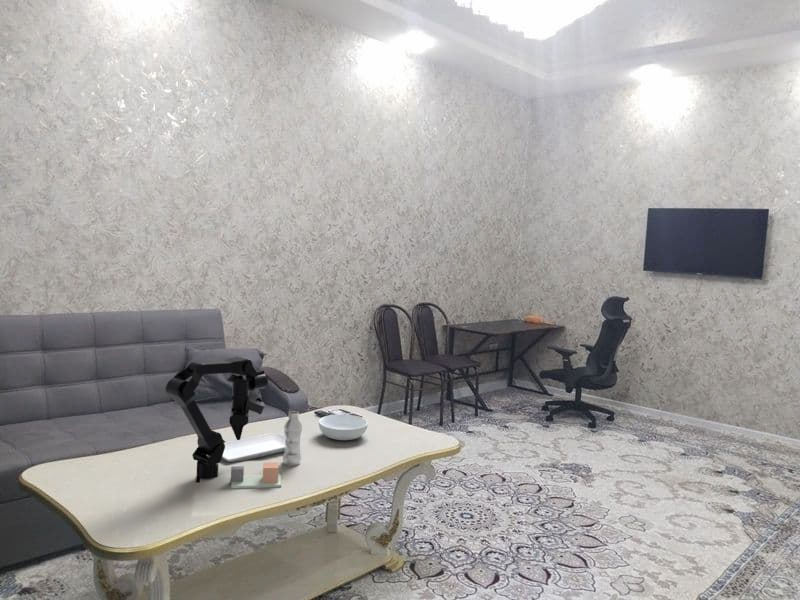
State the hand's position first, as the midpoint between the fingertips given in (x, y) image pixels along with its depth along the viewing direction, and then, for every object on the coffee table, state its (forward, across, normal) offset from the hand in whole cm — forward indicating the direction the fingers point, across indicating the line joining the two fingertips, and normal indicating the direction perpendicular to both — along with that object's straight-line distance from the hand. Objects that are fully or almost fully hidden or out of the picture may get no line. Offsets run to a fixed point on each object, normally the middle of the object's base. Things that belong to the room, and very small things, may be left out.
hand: (238, 435), depth 217 cm
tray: (+12, +16, -6) cm, 21 cm away
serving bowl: (+12, +33, -42) cm, 55 cm away
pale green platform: (+11, -16, -7) cm, 20 cm away
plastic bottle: (+12, +1, -19) cm, 23 cm away
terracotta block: (+10, -16, -11) cm, 22 cm away
